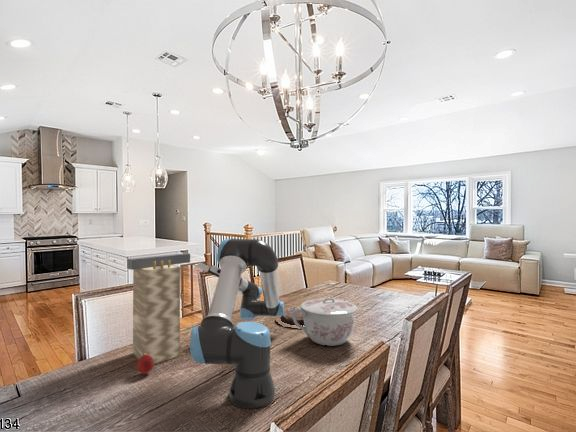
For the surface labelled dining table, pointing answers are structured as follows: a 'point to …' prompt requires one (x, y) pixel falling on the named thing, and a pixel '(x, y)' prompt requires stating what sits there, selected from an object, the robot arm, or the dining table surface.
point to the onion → (145, 364)
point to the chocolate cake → (288, 317)
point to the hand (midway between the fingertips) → (204, 265)
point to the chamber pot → (327, 320)
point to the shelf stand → (156, 312)
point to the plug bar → (157, 260)
